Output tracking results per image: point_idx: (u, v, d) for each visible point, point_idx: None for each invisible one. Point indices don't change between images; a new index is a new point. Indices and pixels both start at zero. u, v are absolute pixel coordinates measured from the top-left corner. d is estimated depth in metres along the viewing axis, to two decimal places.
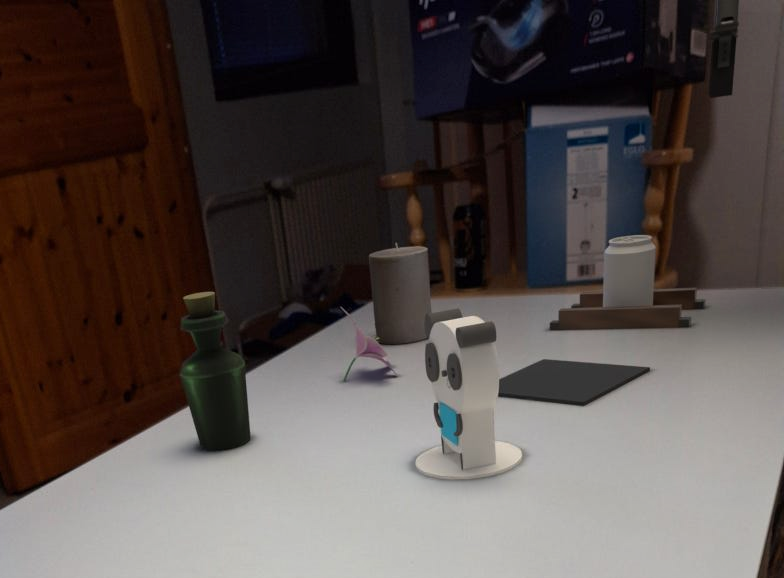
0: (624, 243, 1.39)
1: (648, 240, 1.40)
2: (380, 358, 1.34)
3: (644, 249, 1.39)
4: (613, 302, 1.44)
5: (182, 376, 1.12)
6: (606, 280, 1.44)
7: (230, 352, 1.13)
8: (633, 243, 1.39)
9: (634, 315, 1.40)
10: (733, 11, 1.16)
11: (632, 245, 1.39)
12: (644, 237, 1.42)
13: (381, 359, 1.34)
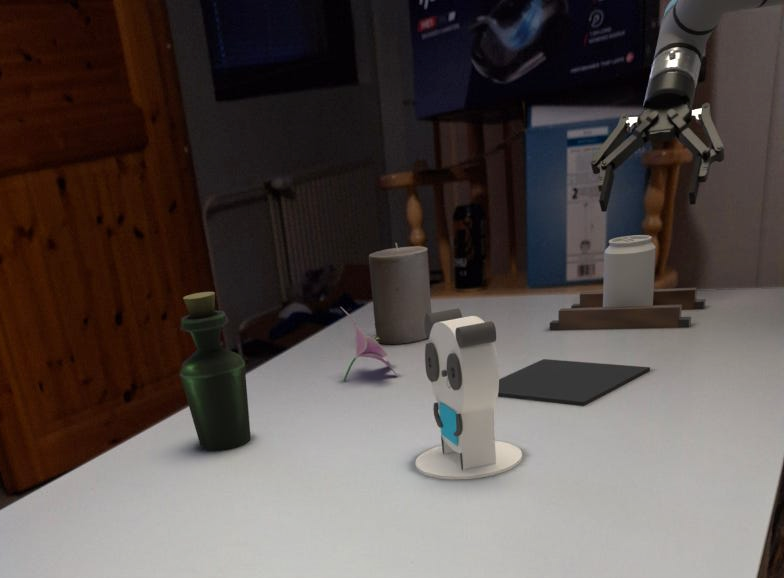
0: (624, 243, 1.39)
1: (648, 240, 1.40)
2: (380, 358, 1.34)
3: (644, 249, 1.39)
4: (613, 302, 1.44)
5: (182, 376, 1.12)
6: (606, 280, 1.44)
7: (230, 352, 1.13)
8: (633, 243, 1.39)
9: (634, 315, 1.40)
10: None
11: (632, 245, 1.39)
12: (644, 237, 1.42)
13: (381, 359, 1.34)
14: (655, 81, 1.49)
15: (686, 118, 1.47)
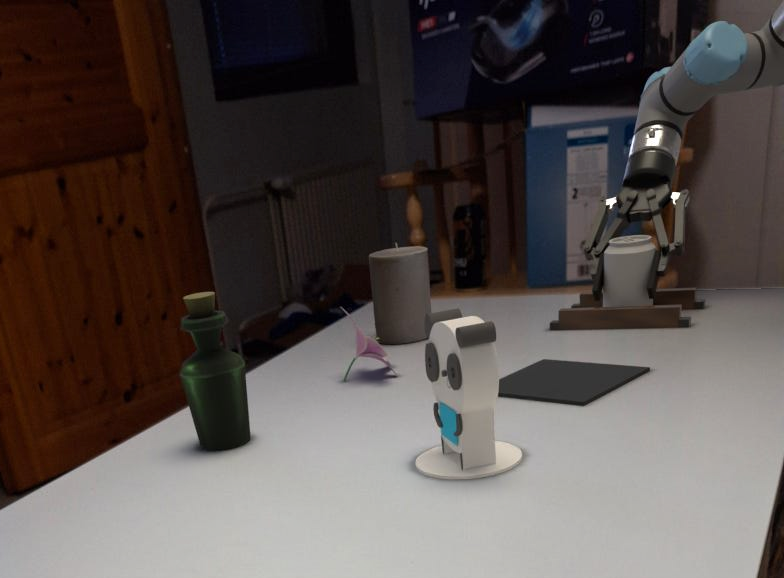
0: (624, 243, 1.39)
1: (648, 240, 1.40)
2: (380, 358, 1.34)
3: (644, 249, 1.39)
4: (613, 302, 1.44)
5: (182, 376, 1.12)
6: (606, 280, 1.44)
7: (230, 352, 1.13)
8: (633, 243, 1.39)
9: (634, 315, 1.40)
10: (684, 241, 1.41)
11: (632, 245, 1.39)
12: (644, 237, 1.42)
13: (381, 359, 1.34)
14: (634, 160, 1.44)
15: None
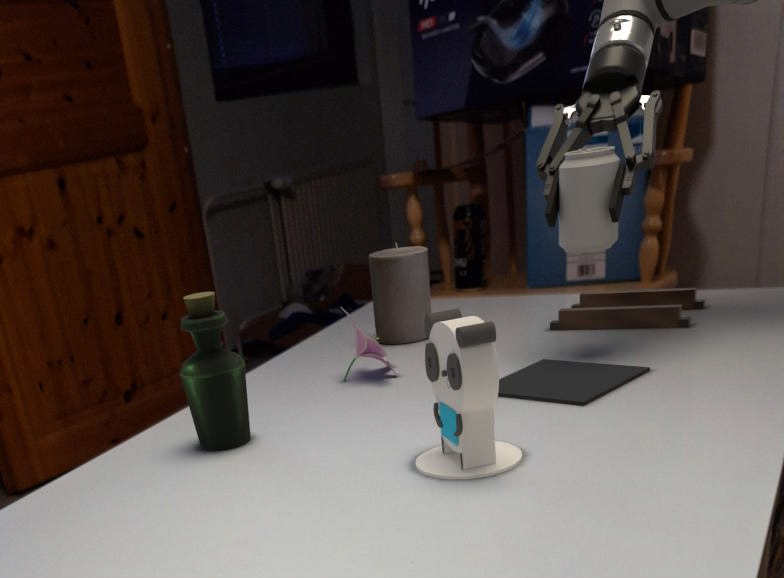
0: (581, 154, 1.16)
1: (610, 150, 1.16)
2: (380, 358, 1.34)
3: (605, 161, 1.16)
4: (570, 228, 1.21)
5: (182, 376, 1.12)
6: (561, 201, 1.20)
7: (230, 352, 1.13)
8: (592, 154, 1.16)
9: (634, 315, 1.40)
10: (654, 153, 1.18)
11: (591, 156, 1.16)
12: (607, 149, 1.19)
13: (381, 359, 1.34)
14: (596, 58, 1.21)
15: None
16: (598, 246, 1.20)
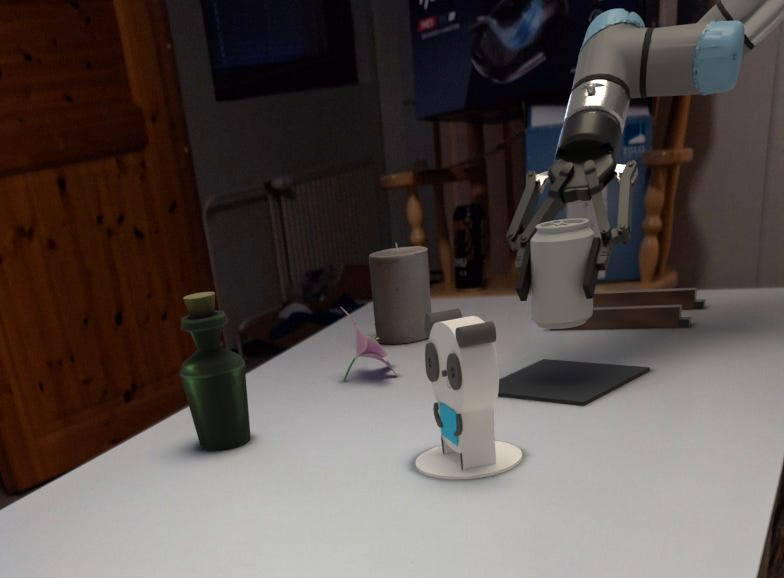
0: (553, 228, 1.10)
1: (584, 224, 1.10)
2: (380, 358, 1.34)
3: (578, 236, 1.10)
4: (542, 303, 1.14)
5: (182, 376, 1.12)
6: (533, 275, 1.14)
7: (230, 352, 1.13)
8: (565, 228, 1.10)
9: (634, 315, 1.40)
10: (630, 226, 1.12)
11: (563, 230, 1.10)
12: (580, 221, 1.13)
13: (381, 359, 1.34)
14: (570, 124, 1.15)
15: None
16: (572, 322, 1.14)
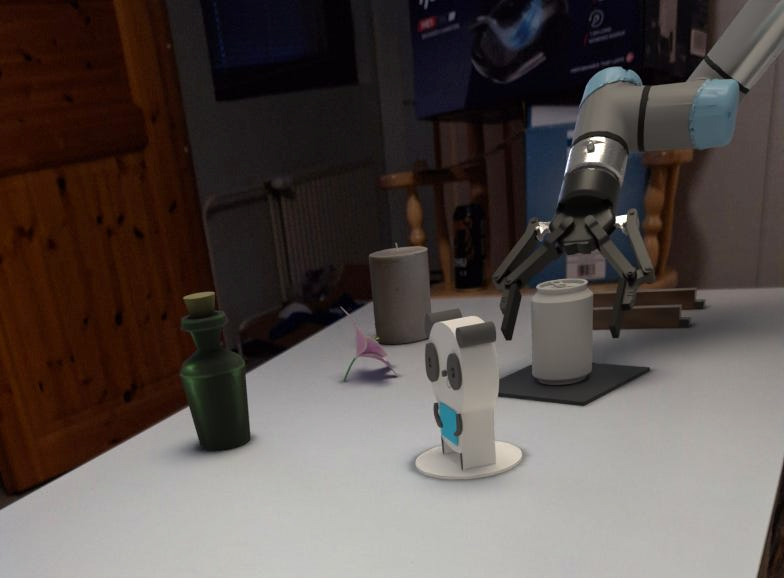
0: (553, 290, 1.13)
1: (583, 286, 1.14)
2: (380, 358, 1.34)
3: (577, 297, 1.13)
4: (542, 360, 1.18)
5: (182, 376, 1.12)
6: (534, 333, 1.18)
7: (230, 352, 1.13)
8: (564, 290, 1.13)
9: (634, 315, 1.40)
10: None
11: (563, 292, 1.13)
12: (580, 281, 1.16)
13: (381, 359, 1.34)
14: (570, 180, 1.18)
15: (608, 227, 1.16)
16: (571, 379, 1.18)
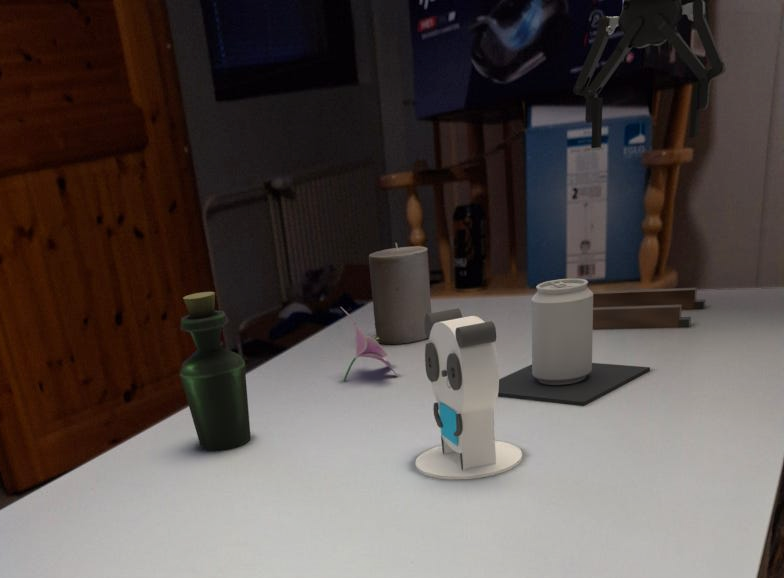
0: (553, 290, 1.13)
1: (583, 286, 1.14)
2: (380, 358, 1.34)
3: (577, 297, 1.13)
4: (542, 360, 1.18)
5: (182, 376, 1.12)
6: (534, 333, 1.18)
7: (230, 352, 1.13)
8: (564, 290, 1.13)
9: (634, 315, 1.40)
10: None
11: (563, 292, 1.13)
12: (580, 281, 1.16)
13: (381, 359, 1.34)
14: None
15: (676, 21, 1.26)
16: (571, 379, 1.18)
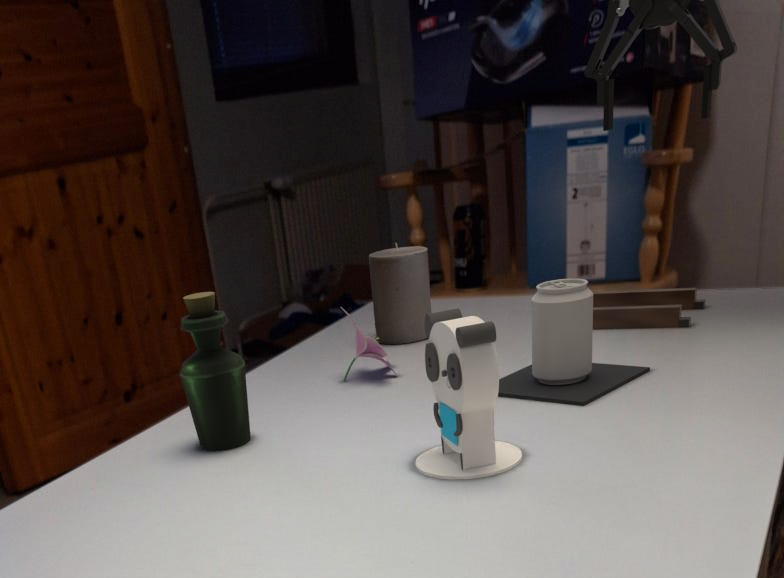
0: (553, 290, 1.13)
1: (583, 286, 1.14)
2: (380, 358, 1.34)
3: (577, 297, 1.13)
4: (542, 360, 1.18)
5: (182, 376, 1.12)
6: (534, 333, 1.18)
7: (230, 352, 1.13)
8: (564, 290, 1.13)
9: (634, 315, 1.40)
10: (732, 37, 1.27)
11: (563, 292, 1.13)
12: (580, 281, 1.16)
13: (381, 359, 1.34)
14: None
15: (687, 2, 1.26)
16: (571, 379, 1.18)
